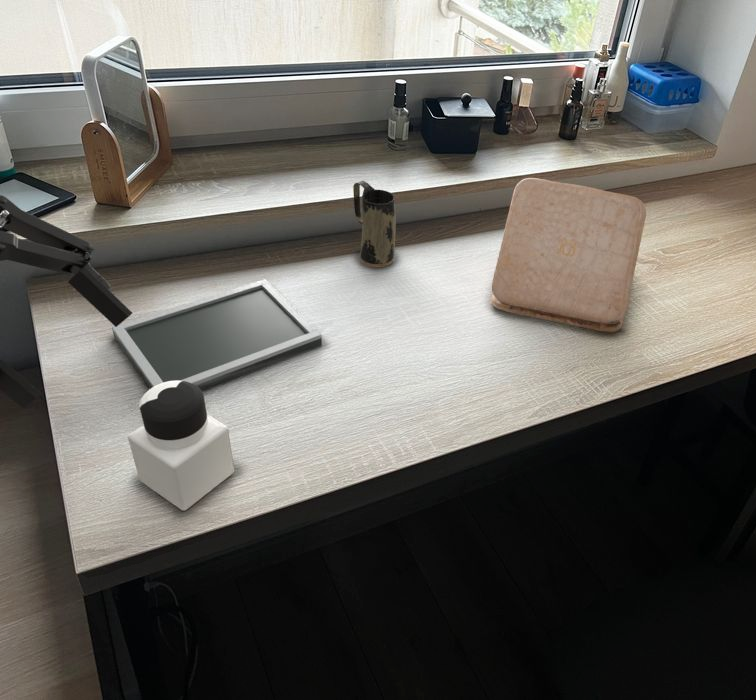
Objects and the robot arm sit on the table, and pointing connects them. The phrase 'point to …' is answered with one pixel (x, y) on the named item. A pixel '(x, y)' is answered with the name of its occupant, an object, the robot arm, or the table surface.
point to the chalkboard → (217, 337)
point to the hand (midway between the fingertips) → (82, 358)
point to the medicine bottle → (180, 444)
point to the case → (568, 254)
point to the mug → (376, 225)
